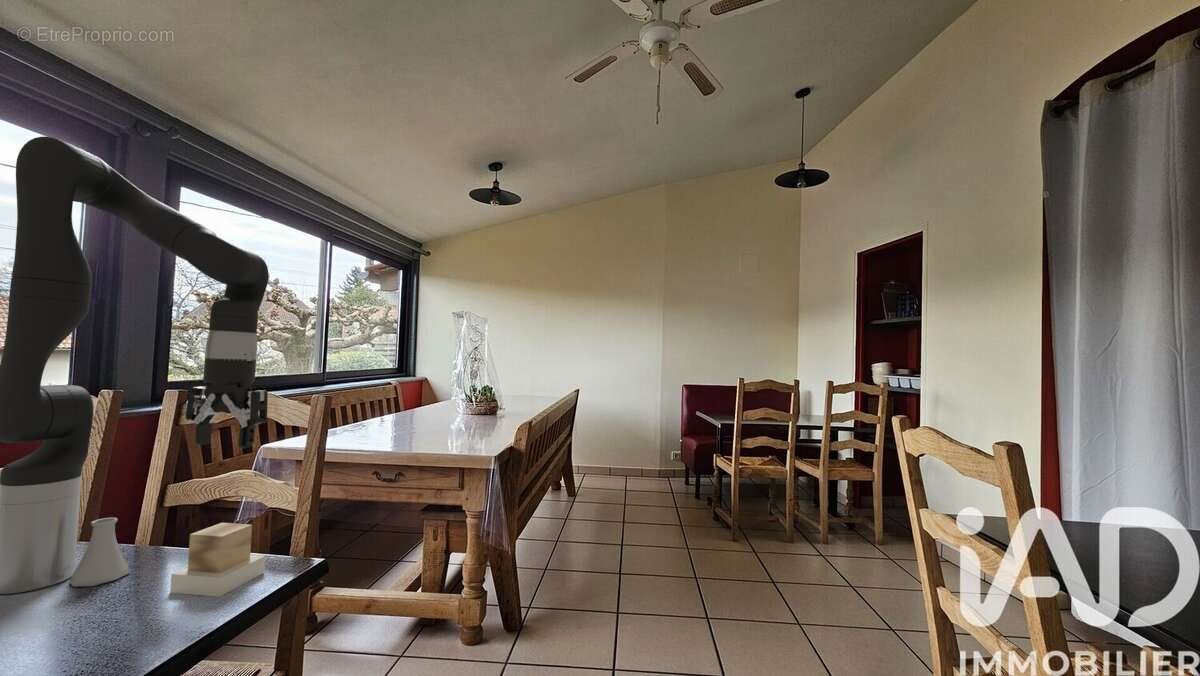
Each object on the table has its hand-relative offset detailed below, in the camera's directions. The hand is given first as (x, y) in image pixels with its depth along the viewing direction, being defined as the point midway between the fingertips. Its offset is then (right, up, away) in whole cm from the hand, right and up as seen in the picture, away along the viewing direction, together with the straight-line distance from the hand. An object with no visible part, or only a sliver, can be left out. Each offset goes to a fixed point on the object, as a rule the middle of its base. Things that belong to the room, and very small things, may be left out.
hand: (224, 446), depth 87 cm
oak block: (+2, -20, -4) cm, 20 cm away
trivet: (+2, -23, -4) cm, 23 cm away
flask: (-19, -23, -4) cm, 29 cm away
